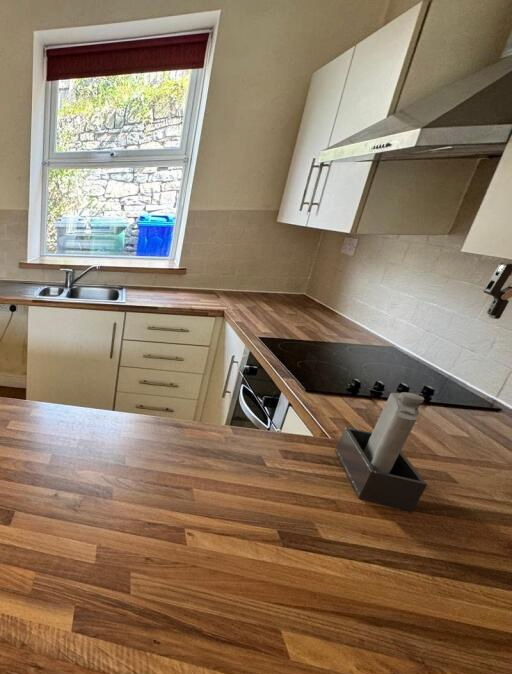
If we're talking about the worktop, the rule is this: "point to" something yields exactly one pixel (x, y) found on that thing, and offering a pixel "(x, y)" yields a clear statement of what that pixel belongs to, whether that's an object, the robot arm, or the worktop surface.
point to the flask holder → (378, 474)
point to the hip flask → (392, 430)
